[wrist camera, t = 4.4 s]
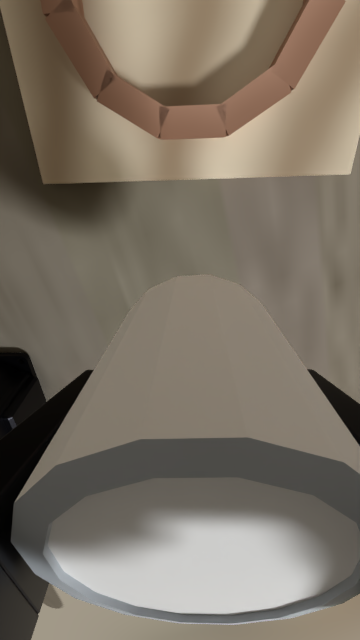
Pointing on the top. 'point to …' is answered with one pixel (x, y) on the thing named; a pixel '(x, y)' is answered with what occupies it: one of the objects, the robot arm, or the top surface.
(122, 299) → the top surface
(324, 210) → the top surface
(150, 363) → the white cylinder
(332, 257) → the top surface
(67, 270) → the top surface
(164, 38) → the collar board
